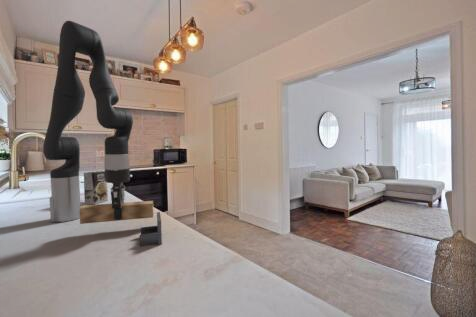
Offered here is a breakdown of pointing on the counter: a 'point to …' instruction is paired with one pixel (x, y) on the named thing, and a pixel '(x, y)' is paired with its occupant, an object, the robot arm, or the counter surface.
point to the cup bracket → (151, 233)
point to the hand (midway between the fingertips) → (119, 216)
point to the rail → (107, 213)
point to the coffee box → (95, 187)
